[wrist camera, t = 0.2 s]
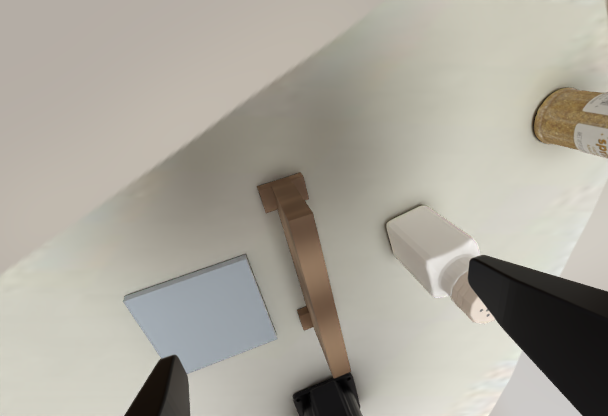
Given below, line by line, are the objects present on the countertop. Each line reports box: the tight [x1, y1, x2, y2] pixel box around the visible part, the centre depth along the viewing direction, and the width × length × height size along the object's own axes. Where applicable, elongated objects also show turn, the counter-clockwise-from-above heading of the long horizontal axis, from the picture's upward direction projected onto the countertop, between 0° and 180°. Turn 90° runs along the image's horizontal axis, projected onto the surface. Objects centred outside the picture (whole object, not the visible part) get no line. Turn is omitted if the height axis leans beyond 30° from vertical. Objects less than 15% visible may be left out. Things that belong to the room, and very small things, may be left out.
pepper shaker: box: [386, 206, 496, 324], centre depth 24 cm, size 4×4×10 cm
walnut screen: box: [257, 173, 351, 378], centre depth 23 cm, size 14×3×6 cm, turn 13°
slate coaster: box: [123, 254, 277, 374], centre depth 26 cm, size 9×9×1 cm
